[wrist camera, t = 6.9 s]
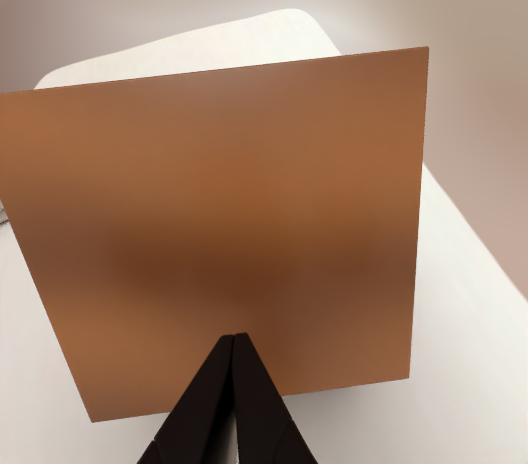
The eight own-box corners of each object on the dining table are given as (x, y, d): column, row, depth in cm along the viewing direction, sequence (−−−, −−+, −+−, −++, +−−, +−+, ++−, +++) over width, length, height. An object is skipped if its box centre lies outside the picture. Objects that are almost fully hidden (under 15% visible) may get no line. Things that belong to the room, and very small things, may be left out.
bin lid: (-16, 102, 8) (-44, 97, 7) (414, 55, 8) (430, 45, 8) (101, 406, 12) (91, 423, 11) (399, 364, 12) (409, 379, 11)
